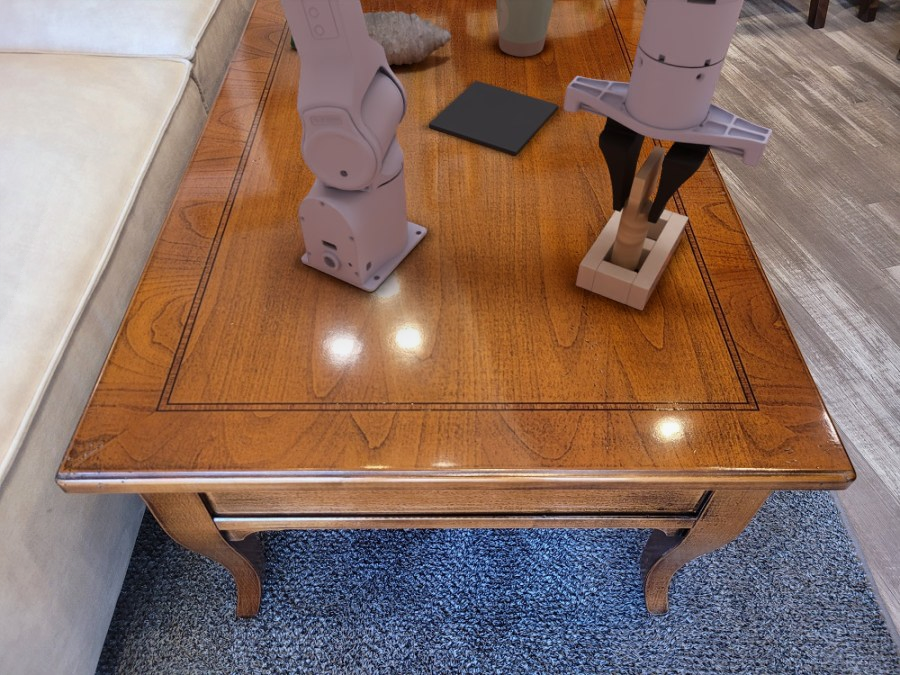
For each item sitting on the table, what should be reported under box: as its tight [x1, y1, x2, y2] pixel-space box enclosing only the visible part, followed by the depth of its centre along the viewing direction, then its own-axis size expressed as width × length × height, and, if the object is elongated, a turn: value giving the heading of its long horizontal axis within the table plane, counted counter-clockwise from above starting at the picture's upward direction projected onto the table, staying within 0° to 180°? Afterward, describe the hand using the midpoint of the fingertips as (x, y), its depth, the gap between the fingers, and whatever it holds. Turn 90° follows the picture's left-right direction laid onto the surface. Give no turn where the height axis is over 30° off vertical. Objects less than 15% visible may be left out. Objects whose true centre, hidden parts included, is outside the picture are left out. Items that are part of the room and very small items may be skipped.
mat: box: [428, 80, 559, 156], centre depth 78 cm, size 11×11×1 cm
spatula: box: [609, 145, 667, 272], centre depth 56 cm, size 5×2×10 cm, turn 150°
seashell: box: [363, 10, 452, 66], centre depth 84 cm, size 6×14×8 cm, turn 99°
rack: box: [575, 209, 689, 311], centre depth 61 cm, size 6×11×3 cm, turn 150°
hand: (638, 210), depth 55 cm, fingers closed on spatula, 2 cm apart
